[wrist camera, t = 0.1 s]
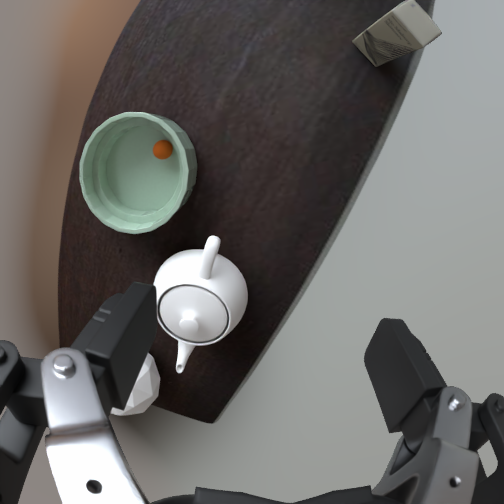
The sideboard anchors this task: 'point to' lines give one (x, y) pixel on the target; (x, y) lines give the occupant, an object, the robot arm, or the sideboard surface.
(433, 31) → the box
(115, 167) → the bowl
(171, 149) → the ball
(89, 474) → the robot arm
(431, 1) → the sideboard surface
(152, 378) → the geometric shape
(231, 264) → the teapot
